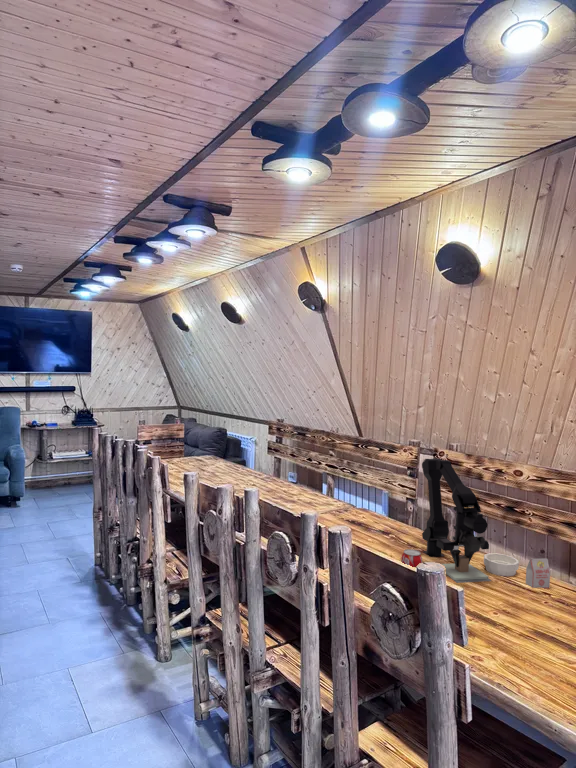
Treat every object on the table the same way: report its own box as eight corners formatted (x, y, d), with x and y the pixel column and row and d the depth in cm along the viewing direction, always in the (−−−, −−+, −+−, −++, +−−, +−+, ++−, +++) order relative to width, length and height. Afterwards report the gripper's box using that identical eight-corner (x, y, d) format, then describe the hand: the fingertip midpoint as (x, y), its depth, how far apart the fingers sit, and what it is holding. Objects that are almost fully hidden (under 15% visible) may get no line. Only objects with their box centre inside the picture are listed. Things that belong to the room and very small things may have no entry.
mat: (433, 566, 197) (433, 564, 197) (465, 564, 201) (465, 563, 201) (456, 584, 181) (456, 582, 181) (491, 582, 184) (491, 580, 184)
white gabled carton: (525, 584, 183) (526, 557, 183) (542, 584, 184) (543, 556, 184) (532, 589, 179) (533, 560, 179) (549, 588, 180) (550, 560, 180)
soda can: (421, 591, 173) (423, 556, 173) (400, 589, 175) (401, 554, 175) (420, 583, 180) (422, 549, 180) (400, 581, 182) (401, 547, 182)
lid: (436, 566, 196) (436, 551, 196) (467, 564, 199) (468, 550, 199) (454, 580, 183) (455, 564, 183) (488, 578, 186) (489, 562, 185)
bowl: (477, 566, 199) (477, 553, 199) (504, 565, 201) (505, 552, 201) (496, 578, 187) (496, 565, 187) (524, 577, 190) (525, 564, 190)
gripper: (452, 532, 180) (450, 576, 181) (499, 531, 185) (497, 573, 185) (436, 523, 191) (434, 564, 192) (481, 522, 195) (479, 562, 196)
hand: (461, 566), depth 191 cm, fingers closed on lid, 3 cm apart
